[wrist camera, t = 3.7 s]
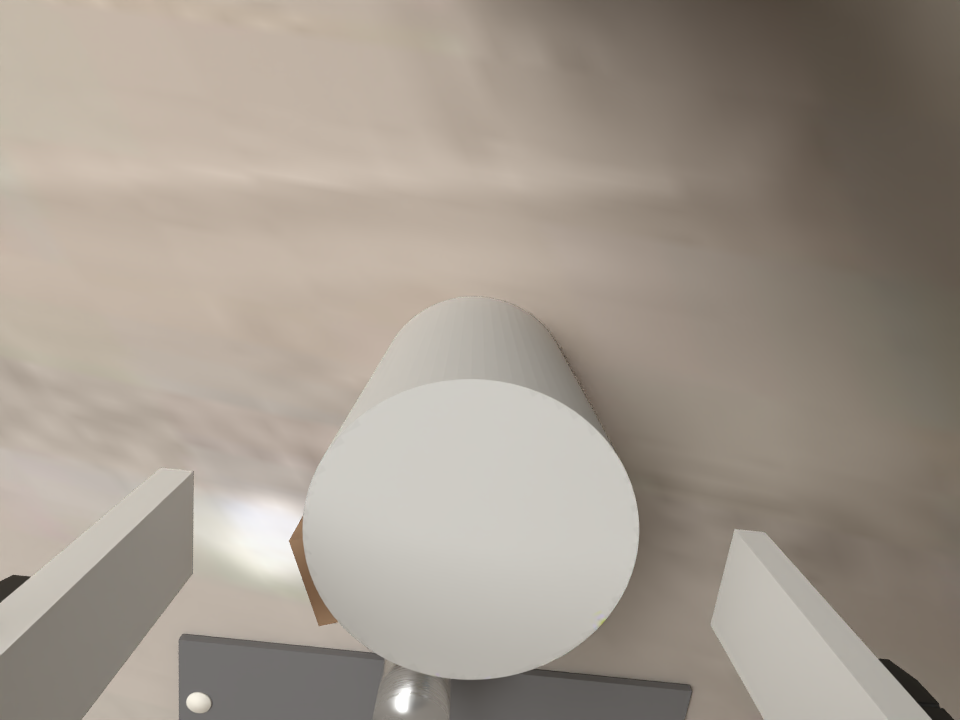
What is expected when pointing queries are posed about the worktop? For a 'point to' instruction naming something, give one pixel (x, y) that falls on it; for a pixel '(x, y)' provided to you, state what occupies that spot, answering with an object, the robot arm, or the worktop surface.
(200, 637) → the pad three
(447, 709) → the metal peg
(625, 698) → the pad two
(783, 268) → the worktop surface
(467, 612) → the white cylinder
